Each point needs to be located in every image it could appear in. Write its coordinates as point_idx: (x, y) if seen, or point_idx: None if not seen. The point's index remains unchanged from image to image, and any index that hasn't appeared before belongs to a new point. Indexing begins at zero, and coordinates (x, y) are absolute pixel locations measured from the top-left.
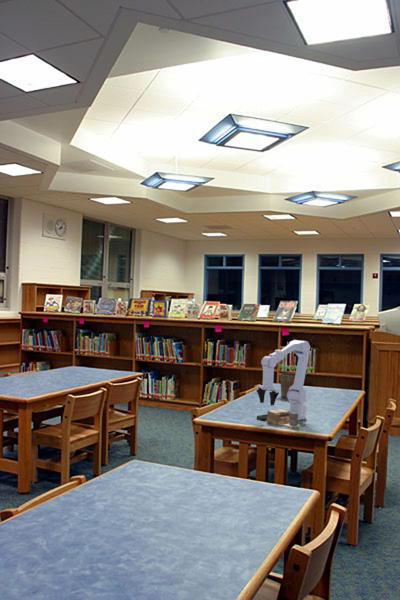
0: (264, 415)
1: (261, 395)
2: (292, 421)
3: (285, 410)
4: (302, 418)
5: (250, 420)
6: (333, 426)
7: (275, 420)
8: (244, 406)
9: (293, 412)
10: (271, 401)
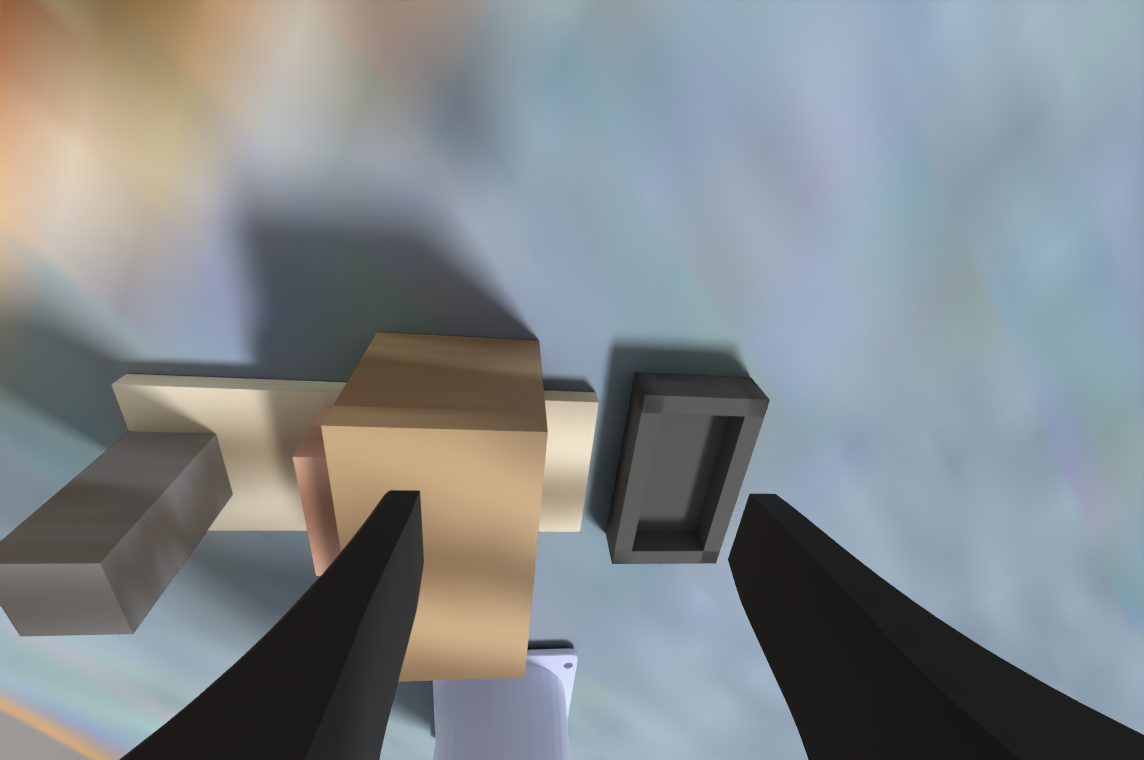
0: (716, 499)
1: (864, 684)
2: (122, 466)
3: (425, 660)
4: (437, 716)
5: (766, 232)
6: (87, 739)
7: (365, 359)
8: (1087, 649)
9: (123, 625)
10: (339, 561)
